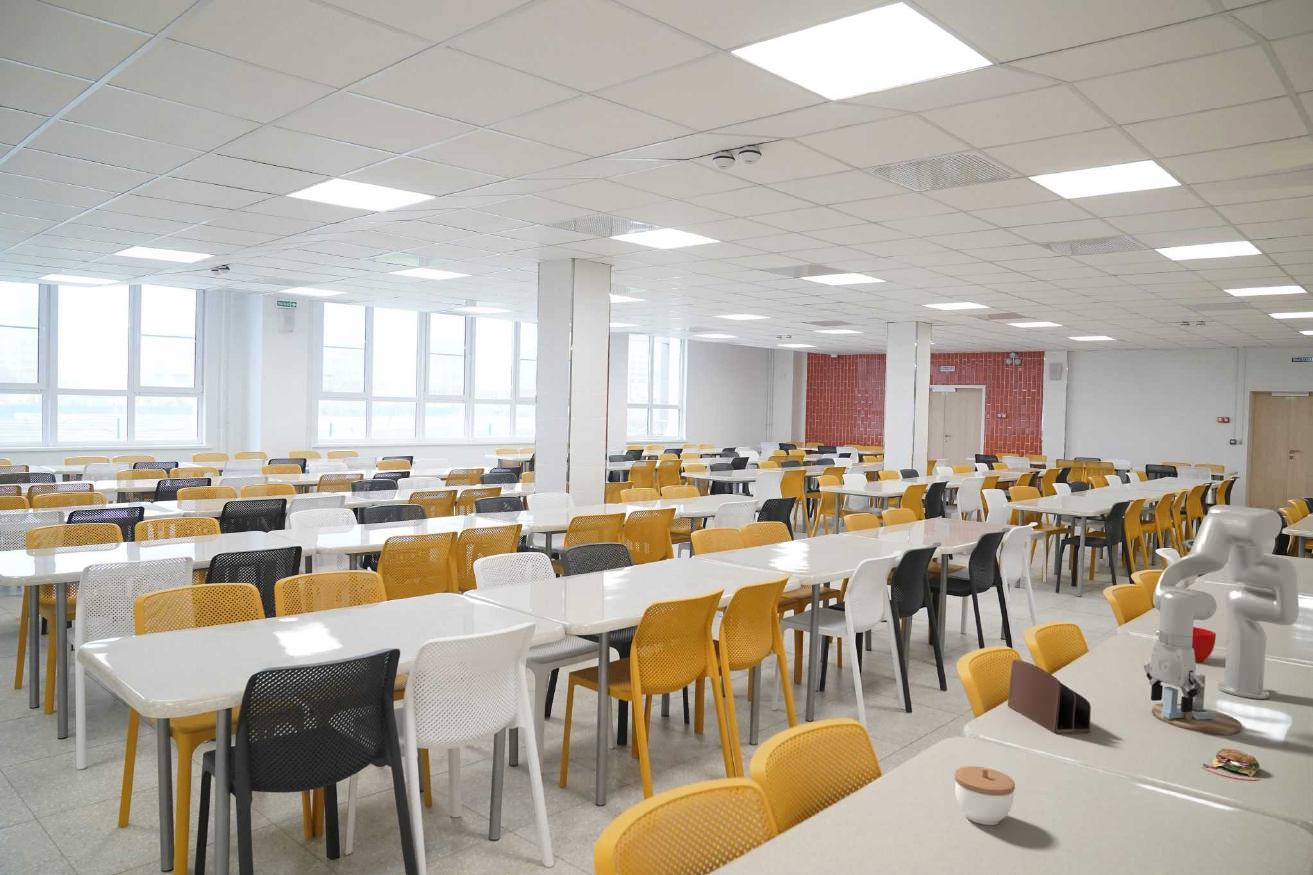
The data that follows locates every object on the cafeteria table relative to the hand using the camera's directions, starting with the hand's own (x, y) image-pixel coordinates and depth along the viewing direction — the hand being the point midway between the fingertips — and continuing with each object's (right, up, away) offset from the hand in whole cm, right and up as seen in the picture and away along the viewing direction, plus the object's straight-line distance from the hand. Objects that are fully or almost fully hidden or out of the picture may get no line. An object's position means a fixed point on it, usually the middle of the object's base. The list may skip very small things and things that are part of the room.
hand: (1171, 705), depth 220 cm
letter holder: (-33, -3, -2) cm, 33 cm away
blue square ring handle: (+5, -3, +2) cm, 6 cm away
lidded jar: (-72, -3, -59) cm, 94 cm away
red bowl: (+48, -6, +67) cm, 83 cm away
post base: (+8, -5, +3) cm, 10 cm away
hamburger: (-4, -6, -29) cm, 29 cm away
